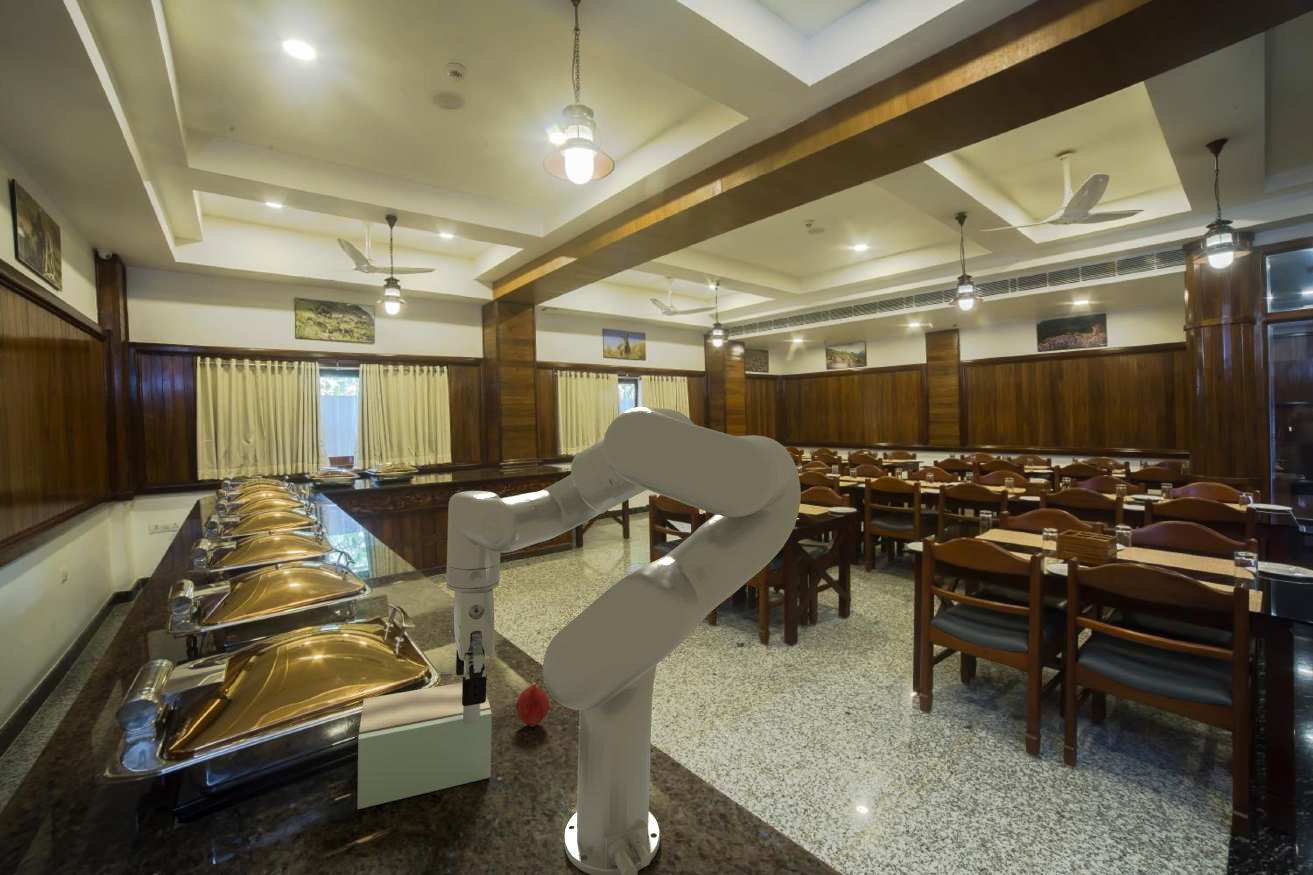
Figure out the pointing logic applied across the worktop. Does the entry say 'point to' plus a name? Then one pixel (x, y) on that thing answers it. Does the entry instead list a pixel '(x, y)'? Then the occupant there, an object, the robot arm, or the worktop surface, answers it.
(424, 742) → the cupboard door
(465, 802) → the worktop surface
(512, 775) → the worktop surface
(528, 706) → the onion
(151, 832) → the worktop surface
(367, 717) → the cupboard
